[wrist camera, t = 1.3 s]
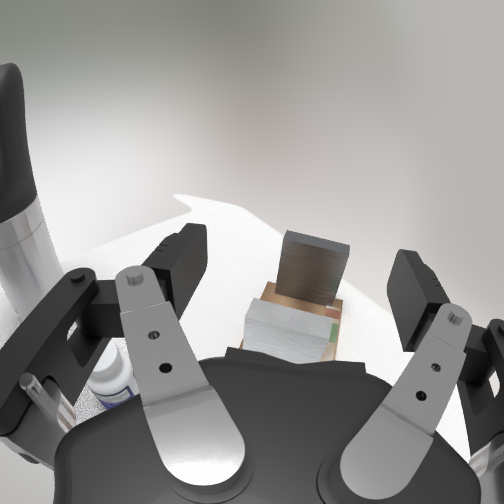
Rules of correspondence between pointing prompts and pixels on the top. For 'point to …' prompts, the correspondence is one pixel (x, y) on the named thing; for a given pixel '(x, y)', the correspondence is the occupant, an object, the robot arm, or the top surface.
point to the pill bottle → (113, 377)
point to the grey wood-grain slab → (310, 268)
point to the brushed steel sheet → (286, 332)
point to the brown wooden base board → (311, 308)
